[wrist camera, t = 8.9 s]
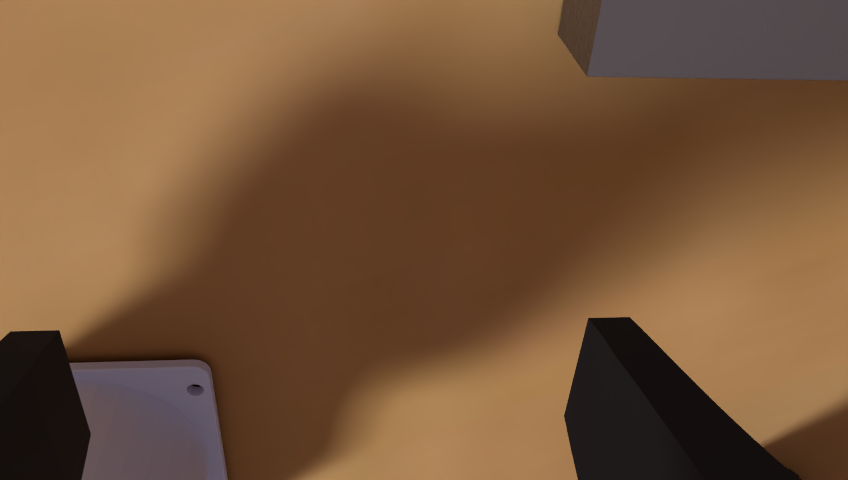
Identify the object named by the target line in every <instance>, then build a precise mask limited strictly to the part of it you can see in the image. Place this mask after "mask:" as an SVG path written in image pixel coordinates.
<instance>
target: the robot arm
mask: <svg viewBox="0 0 848 480" xmlns="http://www.w3.org/2000/svg"><path fill="white" fill-rule="evenodd" d="M193 384H196V385H200V387H196V386H192V385H193ZM564 417H565V422H566V427H567V432H568V436H569V441H570V446H571V451H572V455H573V460H574V464H575V468H576V473H577V477H578V480H799V479H798V478H797V477H796V476H795V475H794V474H792V473H791V472H790V471H789V470H788V469H787V468H786V467H784V466H783V465H782V464H781V463H780V462H779V461H777V460H776V459H775V458H774V457H773V456H772V455H771V454H769V453H768V452H767V451H766V450H765V449H764V448H763V447H762V446H761V445H760V444H758V443H757V442H756V441H755V440H754V439H753V438H752V437H751V436H750V435H749V434H747V433H746V432H745V431H744V430H743V429H742V428H741V427H740V426H739V425H738V424H737V423H736V422H735V421H734V420H733V419H732V418H730V417H729V416H728V415H727V414H726V413H725V412H724V411H723V410H722V409H721V408H720V407H719V406H718V405H717V404H716V403H715V402H714V401H713V400H712V399H711V398H710V397H709V396H708V395H707V394H706V393H705V392H704V391H703V390H702V389H701V388H700V387H699V386H698V385H697V384H696V383H695V382H694V381H693V380H692V379H691V378H690V377H689V376H688V375H687V374H686V373H685V372H684V371H683V370H682V369H681V368H680V367H679V366H678V365H677V364H676V363H675V362H674V361H673V360H672V359H671V358H670V357H669V356H668V355H667V354H666V353H665V352H664V351H663V350H662V349H661V348H660V347H659V346H658V345H657V344H656V343H655V342H654V341H653V340H652V339H651V338H650V337H649V336H648V335H647V334H646V333H645V332H644V331H643V330H642V329H641V328H640V327H639V326H638V325H637V324H636V323H635V322H634V321H633V320H632V319H631V318H630V317H619V318H588V322H587V326H586V330H585V334H584V338H583V342H582V346H581V350H580V354H579V358H578V362H577V366H576V370H575V374H574V378H573V382H572V386H571V390H570V394H569V399H568V403H567V407H566V411H565V415H564ZM0 480H228V476H227V470H226V463H225V457H224V450H223V444H222V437H221V431H220V424H219V418H218V411H217V405H216V398H215V392H214V385H213V379H212V372H211V369H210V367H209V365H207V364H206V363H205V362H203V361H200V360H157V361H121V362H86V363H69V361H68V358H67V354H66V351H65V348H64V344H63V341H62V338H61V335H60V331H59V330H58V331H15V332H10V333H9V334H7V335H6V336H5V337H4V338H3V339H2V340H1V341H0Z"/></svg>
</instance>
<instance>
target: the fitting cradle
mask: <svg viewBox="0 0 848 480" xmlns="http://www.w3.org/2000/svg"><path fill="white" fill-rule="evenodd" d="M558 36H559V37H560V38H561V40H562V41H563V43H564V44H565V46H566V47H567V48H568V50H569V51H570V53H571V54H572V56H573V57H574V58H575V60H576V61H577V63H578V64H579V66H580V67H581V68H582V70H583V71H584V73H585V74H586V76H591V77H655V78H719V79H783V80H847V81H848V0H564V1H563V7H562V13H561V19H560V25H559V31H558Z"/></svg>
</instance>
